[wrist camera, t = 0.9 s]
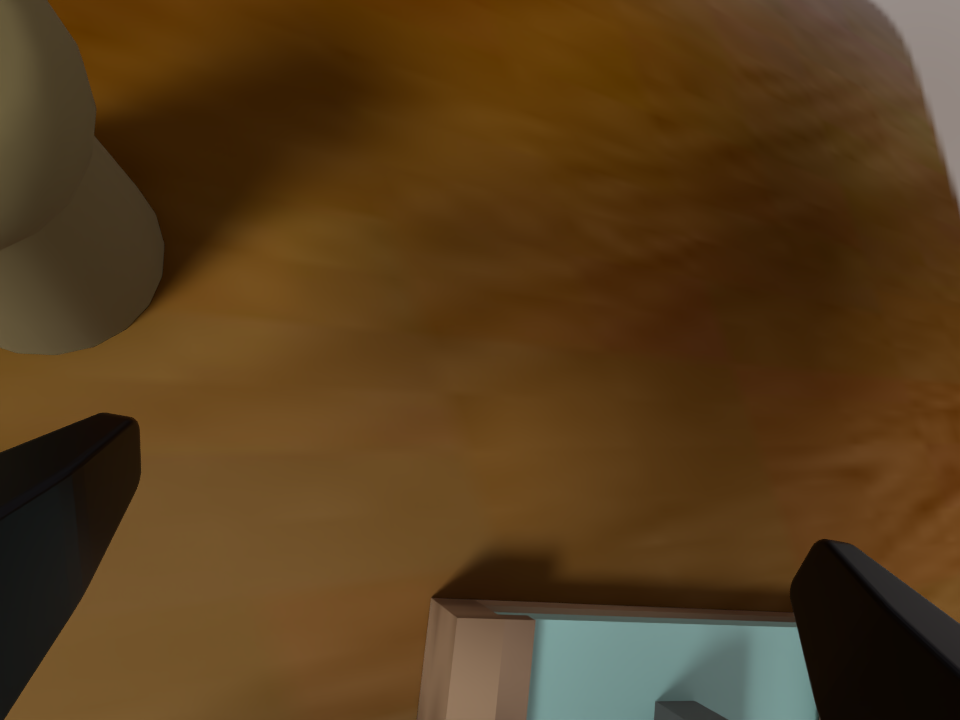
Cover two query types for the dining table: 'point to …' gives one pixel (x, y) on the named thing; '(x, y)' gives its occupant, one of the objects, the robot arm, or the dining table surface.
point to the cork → (63, 200)
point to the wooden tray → (509, 652)
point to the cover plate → (666, 669)
